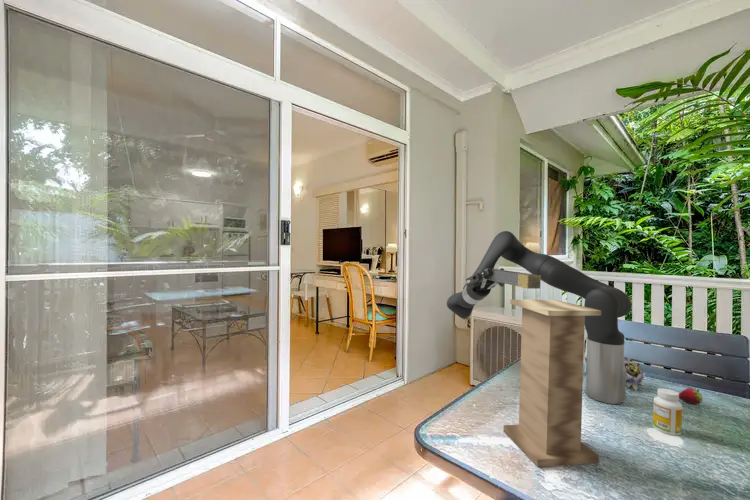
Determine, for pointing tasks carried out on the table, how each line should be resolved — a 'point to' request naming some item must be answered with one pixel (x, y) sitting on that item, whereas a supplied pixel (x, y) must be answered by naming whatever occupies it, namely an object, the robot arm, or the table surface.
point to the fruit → (691, 396)
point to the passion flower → (633, 374)
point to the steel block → (516, 278)
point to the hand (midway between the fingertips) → (497, 270)
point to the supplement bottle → (667, 412)
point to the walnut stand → (551, 383)
